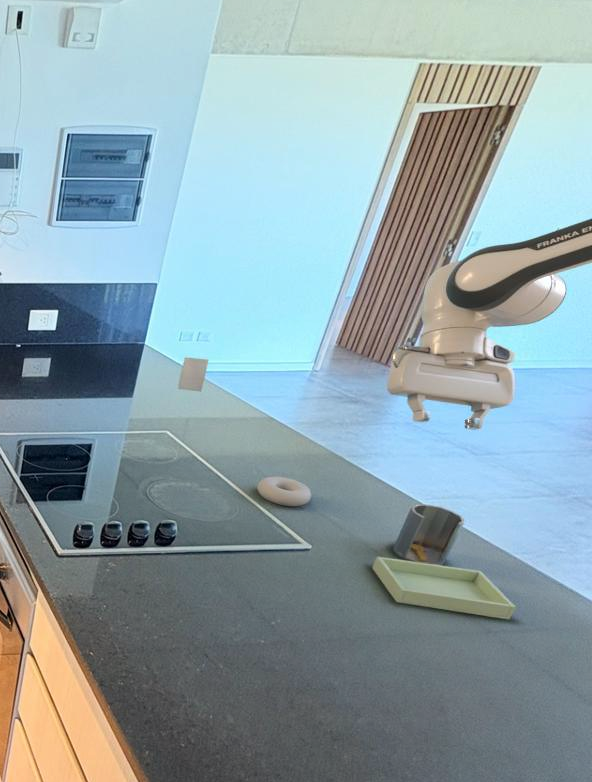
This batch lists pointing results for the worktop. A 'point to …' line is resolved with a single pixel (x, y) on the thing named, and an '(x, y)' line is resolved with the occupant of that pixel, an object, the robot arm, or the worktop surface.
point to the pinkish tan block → (193, 374)
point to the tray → (442, 587)
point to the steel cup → (428, 533)
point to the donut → (284, 491)
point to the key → (419, 551)
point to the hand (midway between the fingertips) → (447, 425)
